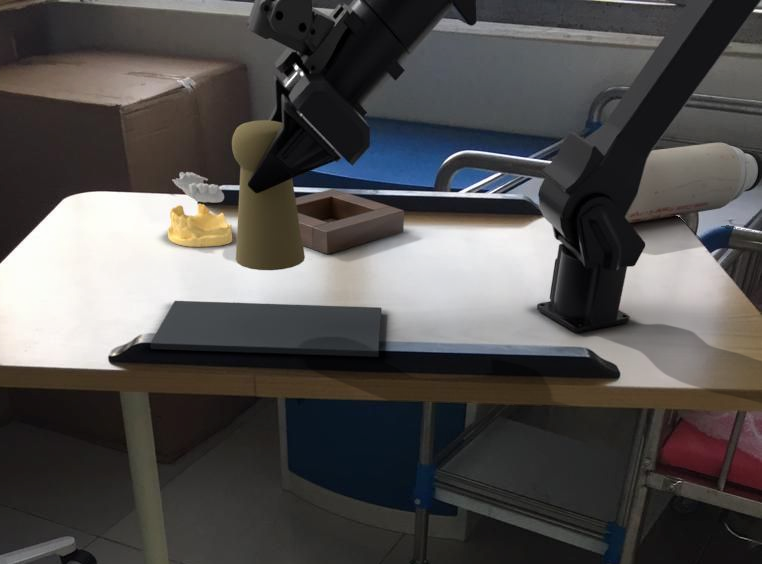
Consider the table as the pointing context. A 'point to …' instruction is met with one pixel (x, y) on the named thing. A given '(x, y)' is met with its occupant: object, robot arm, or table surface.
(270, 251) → the cork
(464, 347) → the table surface
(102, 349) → the table surface
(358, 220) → the square wooden frame
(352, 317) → the slate mat
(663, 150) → the thermos bottle
